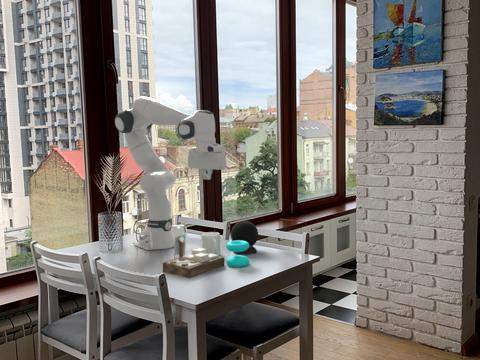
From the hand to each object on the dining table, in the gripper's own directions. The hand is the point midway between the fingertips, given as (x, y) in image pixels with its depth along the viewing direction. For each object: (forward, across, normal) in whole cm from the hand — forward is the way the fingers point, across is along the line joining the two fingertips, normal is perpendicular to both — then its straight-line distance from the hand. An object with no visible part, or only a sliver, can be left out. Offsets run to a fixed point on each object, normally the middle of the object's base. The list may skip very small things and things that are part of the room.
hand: (207, 179), depth 220 cm
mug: (+37, -6, +8) cm, 39 cm away
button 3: (+35, -2, -5) cm, 35 cm away
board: (+37, +1, -12) cm, 39 cm away
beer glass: (+37, -16, -3) cm, 41 cm away
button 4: (+36, +5, -5) cm, 37 cm away
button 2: (+35, +5, -11) cm, 37 cm away
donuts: (+37, +13, +4) cm, 40 cm away
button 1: (+36, -2, -11) cm, 38 cm away
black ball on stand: (+37, +1, +23) cm, 44 cm away
